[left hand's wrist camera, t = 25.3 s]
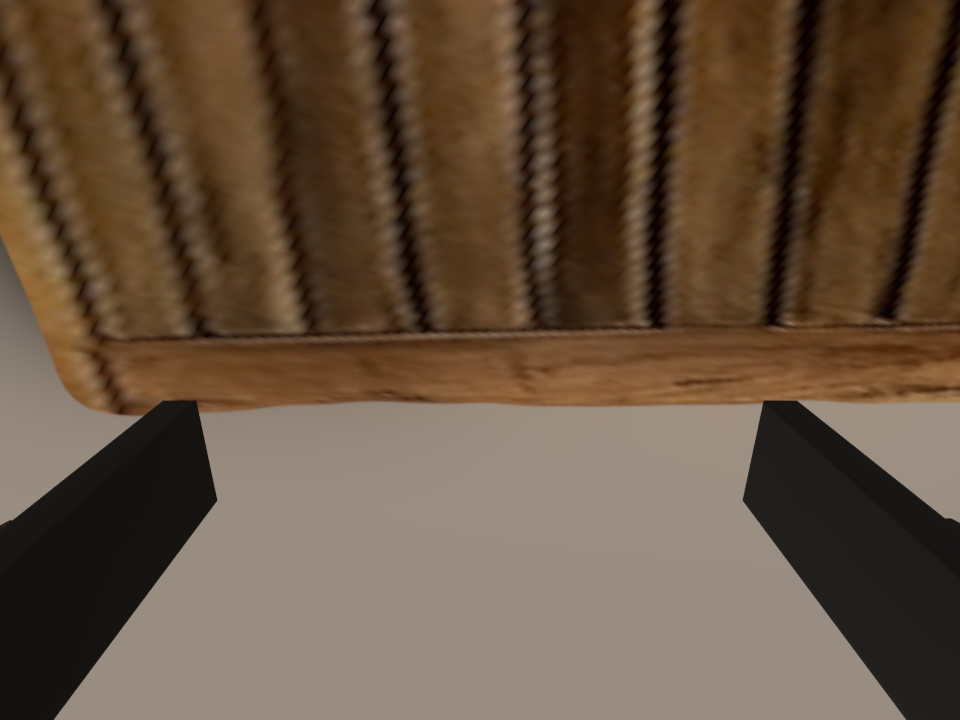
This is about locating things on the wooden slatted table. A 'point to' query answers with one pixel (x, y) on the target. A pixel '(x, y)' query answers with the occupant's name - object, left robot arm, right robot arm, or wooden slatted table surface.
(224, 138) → the wooden slatted table surface
